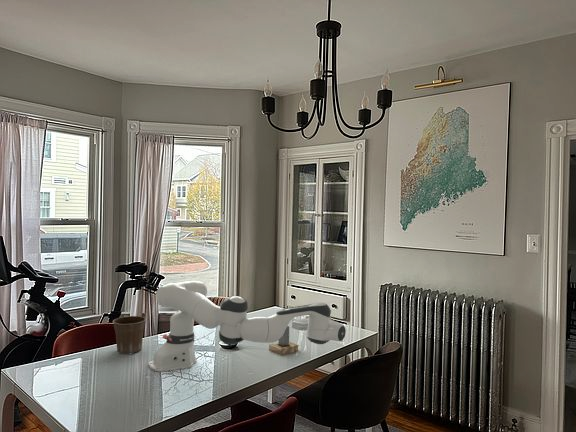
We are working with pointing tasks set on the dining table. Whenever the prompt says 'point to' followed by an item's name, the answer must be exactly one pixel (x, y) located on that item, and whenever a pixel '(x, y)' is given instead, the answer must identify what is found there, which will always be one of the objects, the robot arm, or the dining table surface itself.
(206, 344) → the dining table surface
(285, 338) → the post
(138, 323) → the plant pot
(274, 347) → the well block
